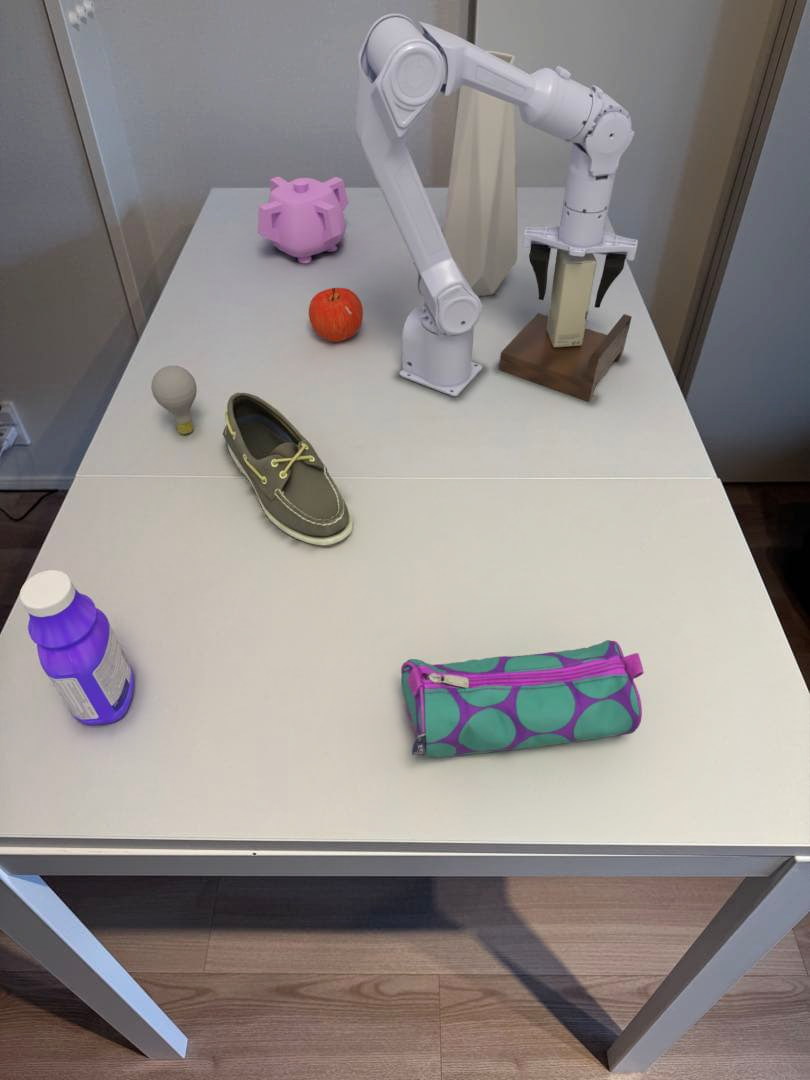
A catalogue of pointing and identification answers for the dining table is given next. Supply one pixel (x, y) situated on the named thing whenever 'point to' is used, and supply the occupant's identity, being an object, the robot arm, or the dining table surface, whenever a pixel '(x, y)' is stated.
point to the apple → (336, 314)
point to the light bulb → (176, 394)
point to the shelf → (564, 357)
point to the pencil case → (522, 700)
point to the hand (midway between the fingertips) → (569, 300)
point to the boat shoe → (285, 472)
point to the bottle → (77, 649)
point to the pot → (304, 216)
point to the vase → (483, 189)
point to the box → (570, 298)
